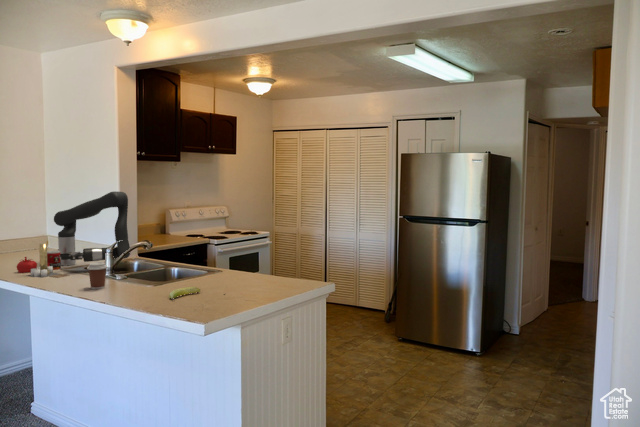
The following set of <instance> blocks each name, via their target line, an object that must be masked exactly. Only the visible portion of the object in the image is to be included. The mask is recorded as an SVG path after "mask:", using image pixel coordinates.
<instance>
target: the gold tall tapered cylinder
mask: <svg viewBox="0 0 640 427" xmlns="http://www.w3.org/2000/svg"><path fill="white" fill-rule="evenodd" d="M38 247H39V248H38V249H39V267H40V276H41V270H43V269H47V275H49V271H48V265H47V251H48V244H47V243H39V245H38Z"/></svg>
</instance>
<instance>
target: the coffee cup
mask: <svg viewBox="0 0 640 427" xmlns="http://www.w3.org/2000/svg"><path fill="white" fill-rule="evenodd" d="M86 269H87V270H88V275H89V284H90V285H89V286H90V289H92V290H98V289H104V288H105V287H106V272H107V270H106V269H108V266H107V265H106V263H105V262H103V261H93V262H90V263H89V265H88V266H87V267H86Z"/></svg>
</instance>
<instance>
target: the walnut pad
mask: <svg viewBox="0 0 640 427" xmlns="http://www.w3.org/2000/svg"><path fill="white" fill-rule="evenodd" d="M65 277H70V274H63V273H60V274H58V275H53V276H49V278H55V279H56V278H57V279H60V278H65Z"/></svg>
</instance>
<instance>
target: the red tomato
mask: <svg viewBox="0 0 640 427" xmlns="http://www.w3.org/2000/svg"><path fill="white" fill-rule="evenodd" d="M34 268H36V269H38V263H37V262H36V261H35V260H33V259H32V258H28V256H24V259H22V260H20V261H19V262H18V263H17V265H16V270H17V272H18V273H19V274H28V273H31V269H34Z"/></svg>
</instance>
